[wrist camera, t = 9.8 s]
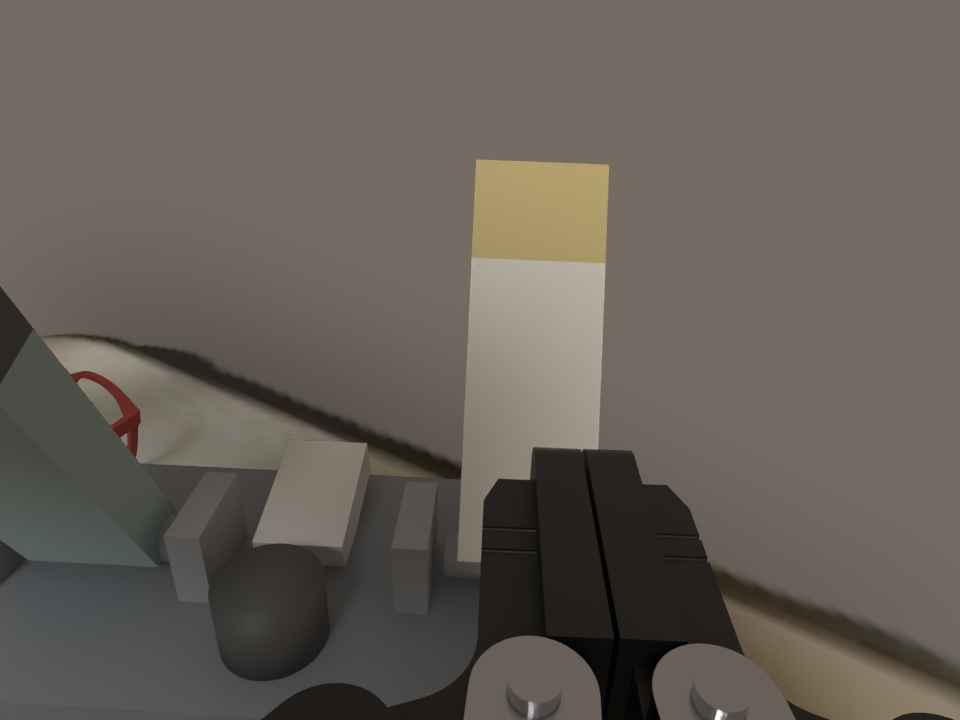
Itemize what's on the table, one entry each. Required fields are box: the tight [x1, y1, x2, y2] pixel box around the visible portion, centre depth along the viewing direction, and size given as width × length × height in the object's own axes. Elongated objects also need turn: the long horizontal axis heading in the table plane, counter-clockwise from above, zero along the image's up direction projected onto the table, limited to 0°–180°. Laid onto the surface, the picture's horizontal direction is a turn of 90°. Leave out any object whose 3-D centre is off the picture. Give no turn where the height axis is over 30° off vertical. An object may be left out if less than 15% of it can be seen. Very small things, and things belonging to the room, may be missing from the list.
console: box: [0, 439, 480, 720], centre depth 22 cm, size 21×10×8 cm, turn 88°
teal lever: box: [0, 287, 178, 567], centre depth 17 cm, size 5×2×13 cm, turn 88°
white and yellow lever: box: [444, 160, 609, 579], centre depth 21 cm, size 5×2×13 cm, turn 88°
